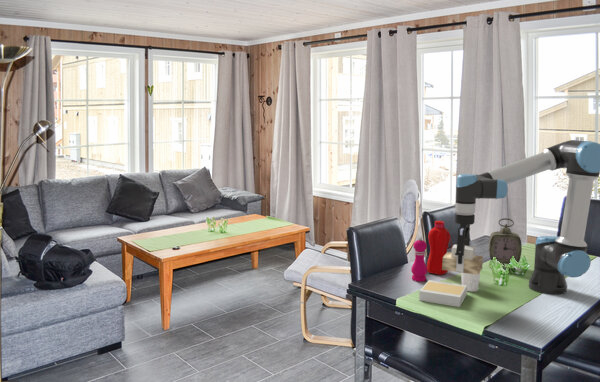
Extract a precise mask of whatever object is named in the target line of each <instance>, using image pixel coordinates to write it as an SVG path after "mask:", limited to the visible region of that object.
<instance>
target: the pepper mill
mask: <svg viewBox="0 0 600 382" xmlns="http://www.w3.org/2000/svg"><path fill="white" fill-rule="evenodd" d="M417 238H418V240H415V241H414V242H413V245H412V246H413V249H414V251H413V252H414V253H413V254H414V256H415V258H414V262H412V266H411V269H410V271H411V273H412V275H411V280H412V281H414V282H419V283H420V282H421V283H422V282H426V280H427V274H428V271H427V263H426V262H425V255H426V250H427V247H428V244H427V242H426V241H425V240H423V237H422V236H418V237H417Z"/></svg>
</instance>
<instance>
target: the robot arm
mask: <svg viewBox="0 0 600 382" xmlns="http://www.w3.org/2000/svg"><path fill="white" fill-rule="evenodd" d="M560 169H565V170H566V171H565V174H566V176H567V177H568V184H567V185H568V186H567V192H566V198H565V204H564V210H563V215H562V217H563V218H562V223H561V228H560V235H559V236H557V235H556V236H555V235H544V236H543V235H542V236H541V235H540V236H537V238H536V239H535V248H534V249H535V251H534V267H533V268H534V269H533V271H532V273H531V275H530V278H529V281H528V287H529V289H531V290H532V291H535V292H538V293H539V292H540V293H542V294H543V293H544V294H549V295H550V294H551V295H562V294H565V293H567V291H568V283H567V280H566V277H568V278H574V279H575V278H579V277H581V276H583V275H584V274H586V273H588V271H589V269H590V268H591V263H592V262H591V260H592V259H591V257H590V255H589V254H588V253H587V250H588V244H587V243H586V241H585V237H586V229H587V223H588V218H589V211H590V205H591V199H592V193H593V186H594V182H595V180H597V179H598V178H600V177H599V176H600V143H599V142H595V141H591V140H575V139H572V140H571V139H570V140H566V141H563V142H561V143H560V142H559V143H557V144H555V145H552V146H549V147H546V148H544V149H543V150H542V152H540V153H537V154H535V155H531V156H528V157H526V158H523V159H520V160H517V161H515V162H512V163H508V164H506V165H503V166H501V167H498V168H495V169H492V170H490V171H487V172H483V173H480V174H472V173H460V174H457V178H456V184H455V203H454V205H453V207H455V208H454V209H455V210H454V211H455V213H454V223H455V224H459V225H460V226H459V227H458V229H457V240H456V241H457V243H456V245H457V250H456V253H455V255H457V263H456V271H458V272H457V273H461V272H463V271H464V249H465V246H471V244H470V238H471V237H470V231H471V225H473V224H475V220H476V215H475V213H476V204H477V203H476V201H477V199H486V200H487V199H491V200H492V199H494V200H498V199H505V198H506V197H507V195H508V189H509V187H508V184H511V183H514V182H517V181H519V180H523V179H526V178H528V177H531V176H535V175H536V174H539V173H542V172H543V173H544V172H547V171H548V170H550V171H555V170H560Z"/></svg>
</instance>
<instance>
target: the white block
mask: <svg viewBox="0 0 600 382" xmlns="http://www.w3.org/2000/svg"><path fill="white" fill-rule="evenodd" d="M456 250H457V243H456V244H453V245H452V249H451V252H452V253H451V257H452V258H457V255H455V253H456ZM475 252H476V246H471V245H469V246H465V249H464V259H468V260H473V258H474V255H476V254H475Z"/></svg>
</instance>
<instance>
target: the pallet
mask: <svg viewBox="0 0 600 382" xmlns="http://www.w3.org/2000/svg"><path fill="white" fill-rule="evenodd" d="M451 253H452V251H447V253H446V254H445V255H444V257H443V262H442V270H447V271H448V272H453V273H454V272H455V273H459V272H458V271H456V263H457V258H452V257H451ZM483 260H484V256H483V255H476V254H475V255H474V258H473V260H468V259H464V271H463V272H462V273H469V274H476V275H479V273H480V274H481V271H482V269H483Z"/></svg>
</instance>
